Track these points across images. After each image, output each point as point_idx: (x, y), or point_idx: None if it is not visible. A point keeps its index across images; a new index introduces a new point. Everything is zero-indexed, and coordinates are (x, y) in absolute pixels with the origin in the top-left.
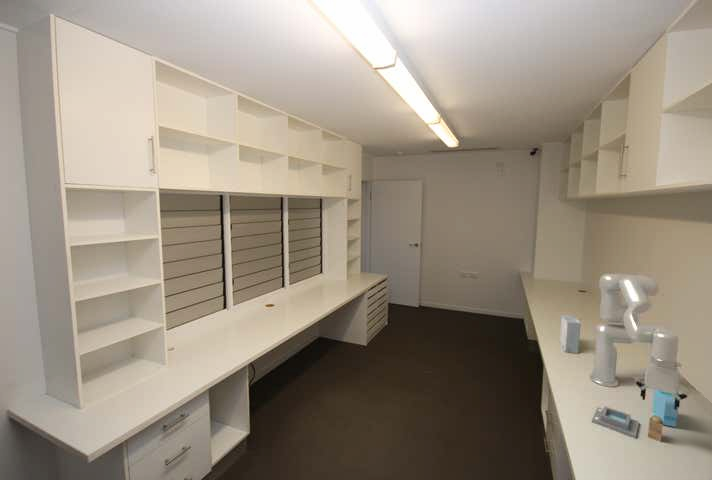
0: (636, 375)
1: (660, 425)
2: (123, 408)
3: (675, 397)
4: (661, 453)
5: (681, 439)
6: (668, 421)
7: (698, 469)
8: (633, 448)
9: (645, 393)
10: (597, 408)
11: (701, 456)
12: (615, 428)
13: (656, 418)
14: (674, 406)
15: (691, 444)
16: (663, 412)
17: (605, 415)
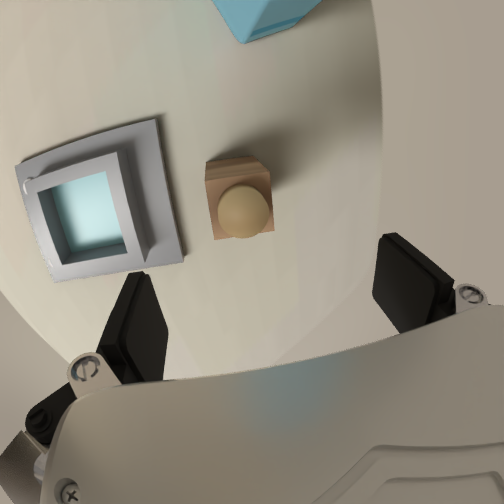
0: (12, 498)
1: (264, 230)
2: None
3: (434, 298)
4: (270, 276)
5: (317, 108)
6: (266, 33)
7: (358, 269)
8: (200, 318)
9: (146, 328)
10: (18, 179)
11: (372, 184)
12: (117, 271)
13: (244, 225)
14: (383, 310)
15: (347, 121)
16: (247, 22)
17: (58, 239)
